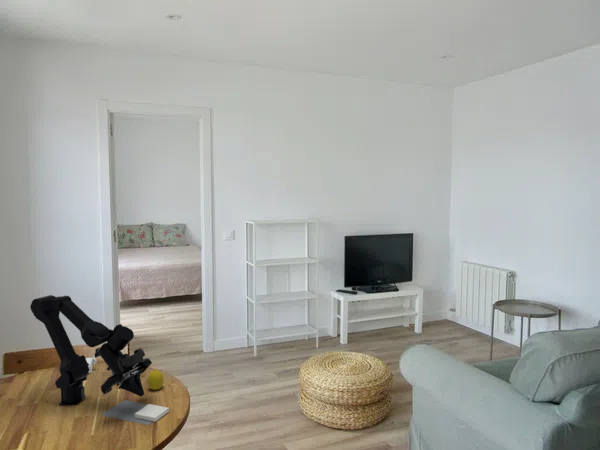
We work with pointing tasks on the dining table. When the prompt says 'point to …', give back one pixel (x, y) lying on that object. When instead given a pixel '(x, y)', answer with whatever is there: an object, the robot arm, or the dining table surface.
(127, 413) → the mat
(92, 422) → the dining table surface
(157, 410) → the tile
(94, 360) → the elephant figurine
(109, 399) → the dining table surface
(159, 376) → the lemon
